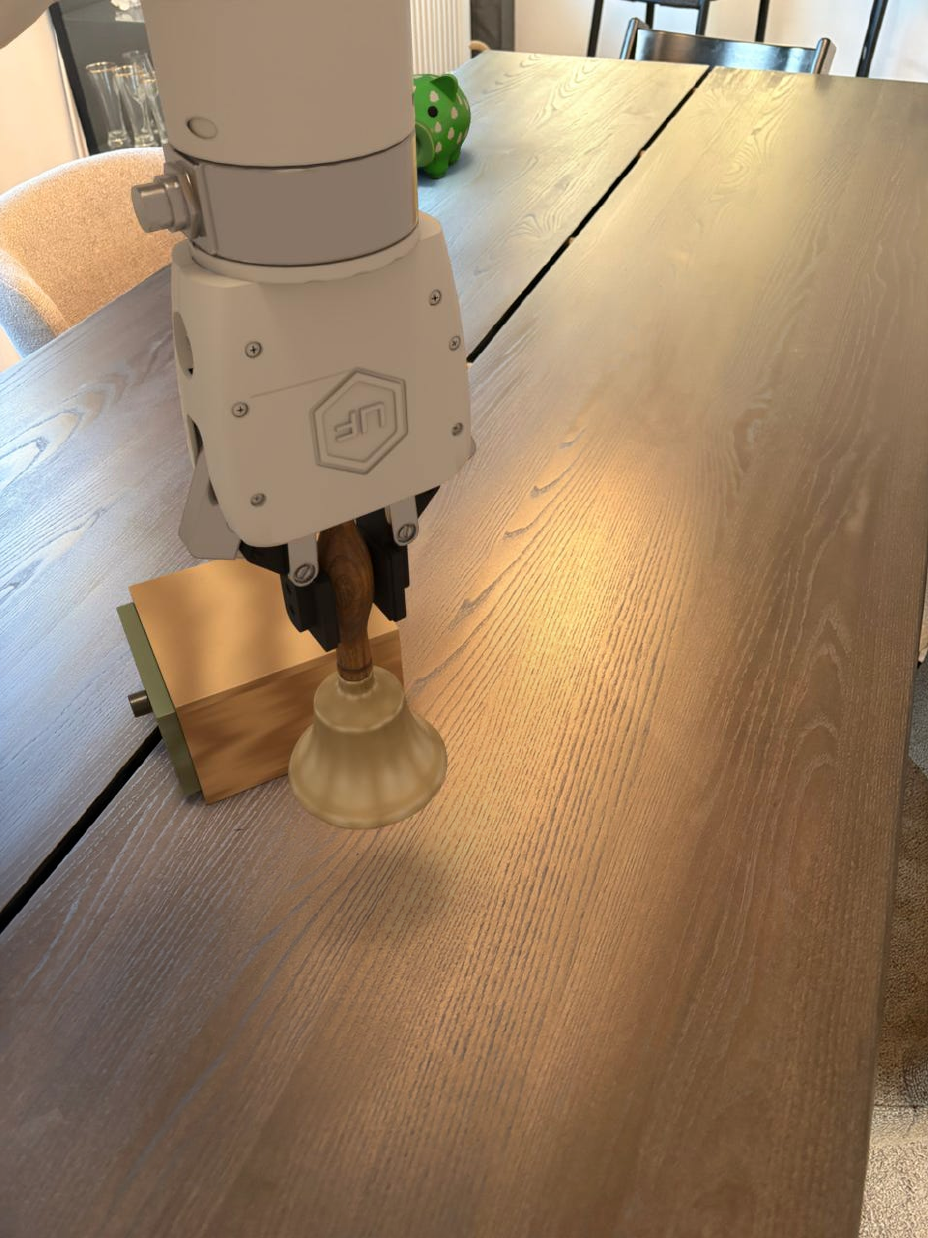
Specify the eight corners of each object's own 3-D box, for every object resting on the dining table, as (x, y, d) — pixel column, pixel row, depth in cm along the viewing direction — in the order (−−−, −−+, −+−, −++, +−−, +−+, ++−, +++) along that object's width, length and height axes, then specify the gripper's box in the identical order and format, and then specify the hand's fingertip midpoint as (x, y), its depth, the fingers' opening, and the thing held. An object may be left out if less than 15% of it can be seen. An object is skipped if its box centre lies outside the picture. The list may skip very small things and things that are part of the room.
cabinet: (207, 805, 63) (175, 707, 57) (160, 683, 71) (127, 586, 65) (407, 726, 68) (399, 628, 61) (342, 621, 76) (328, 524, 70)
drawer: (166, 804, 62) (136, 725, 57) (127, 691, 70) (97, 612, 64) (373, 724, 67) (363, 644, 62) (316, 626, 74) (303, 548, 69)
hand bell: (258, 757, 50) (198, 511, 40) (386, 684, 54) (363, 441, 43) (347, 861, 46) (306, 614, 35) (480, 773, 49) (480, 525, 39)
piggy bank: (363, 183, 152) (354, 78, 142) (404, 149, 165) (398, 50, 155) (447, 191, 149) (444, 84, 139) (483, 156, 161) (482, 55, 151)
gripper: (84, 294, 25) (214, 749, 37) (573, 176, 31) (545, 597, 44) (10, 209, 30) (148, 639, 42) (449, 121, 36) (456, 516, 48)
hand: (350, 615), depth 43 cm, fingers closed on hand bell, 2 cm apart
